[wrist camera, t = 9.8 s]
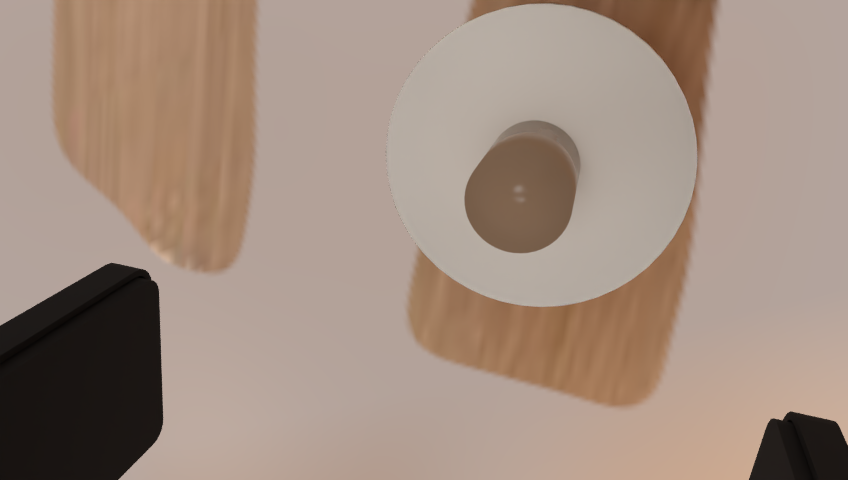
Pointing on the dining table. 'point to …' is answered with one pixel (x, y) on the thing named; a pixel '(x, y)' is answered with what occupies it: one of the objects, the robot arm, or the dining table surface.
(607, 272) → the lid
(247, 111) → the dining table surface
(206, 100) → the dining table surface
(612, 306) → the dining table surface
